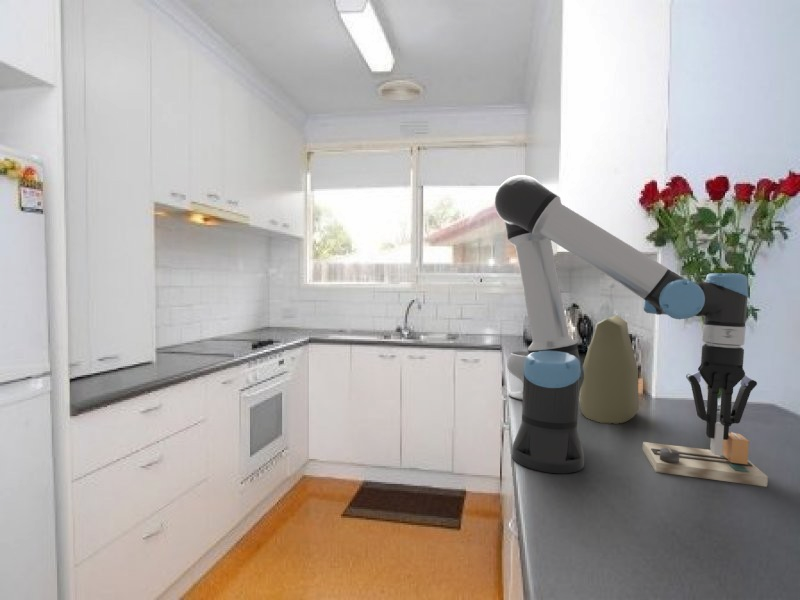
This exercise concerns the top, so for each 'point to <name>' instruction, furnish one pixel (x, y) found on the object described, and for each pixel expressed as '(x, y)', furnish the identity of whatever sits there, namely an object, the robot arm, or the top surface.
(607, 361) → the container
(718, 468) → the console
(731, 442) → the fader knob
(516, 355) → the chalice
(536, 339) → the robot arm
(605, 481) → the top surface
